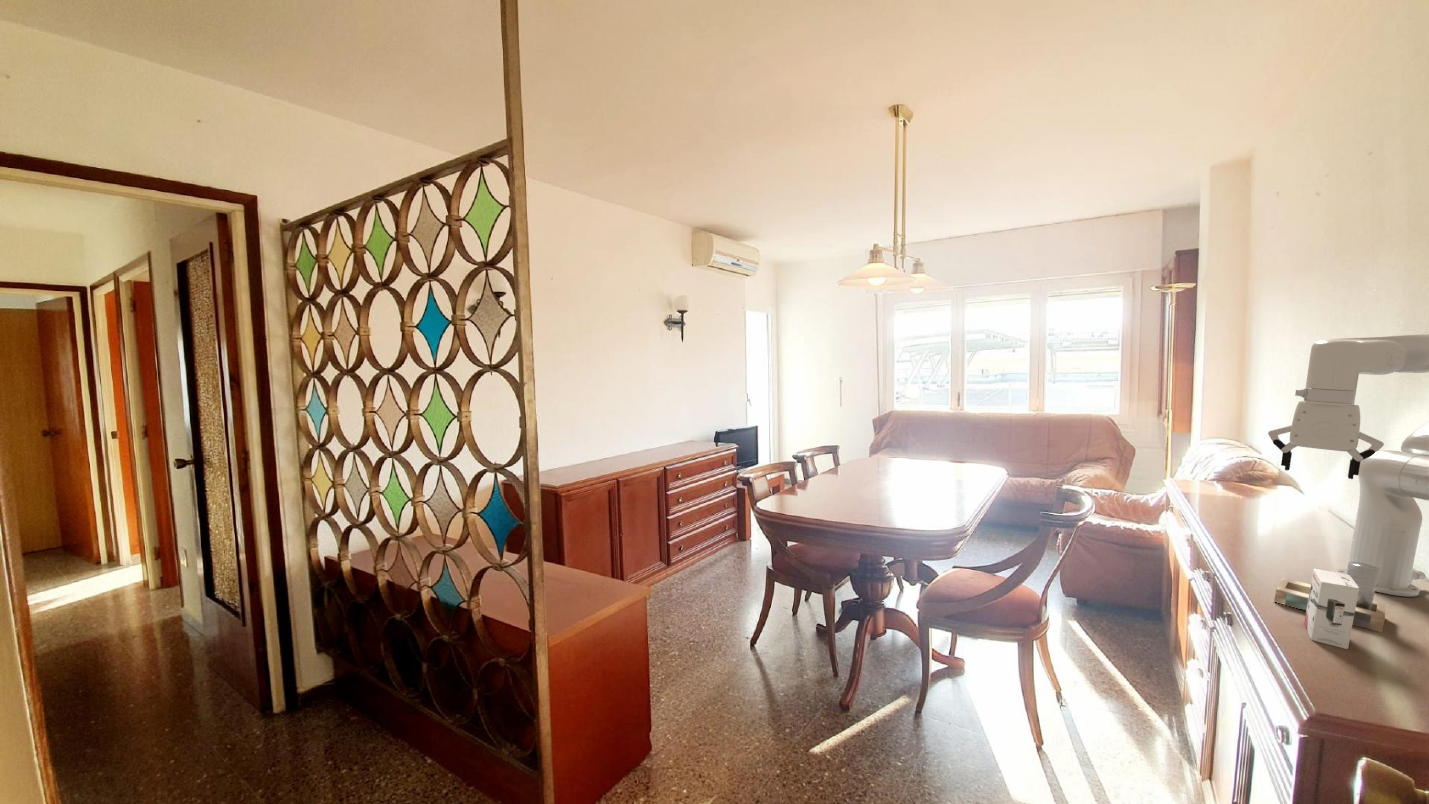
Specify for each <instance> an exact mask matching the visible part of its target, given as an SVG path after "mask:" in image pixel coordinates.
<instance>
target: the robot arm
mask: <svg viewBox="0 0 1429 804" xmlns="http://www.w3.org/2000/svg"><path fill="white" fill-rule="evenodd" d="M1308 361H1309V362H1308V367H1307V374H1306V376H1307V377H1306V380H1305V381H1306V383H1305V388H1303V389H1295V395H1294V396H1295V397H1301V398H1302V399H1303V400H1302V401H1301V400H1300V401H1298V402H1297V405H1296V407H1295V411H1294V415H1293V418H1292V421H1291V425H1287V426H1284V427H1280V428H1275V429H1272V430H1269V431H1268V433H1267V434H1268V436H1269V438H1270V439H1271V441H1272V444H1273V445H1274V446H1275V447H1277V448H1278V449H1279V450H1280V451H1281V452H1282V456H1281V462H1280V463H1281V464H1280V465H1281V466H1282V467H1284V471H1287V472H1288V471H1290V469H1291V462H1292V457H1293V456H1292V454H1293V452H1292V450H1293V449H1295V448H1297V447H1300V448H1308V449H1318V450H1325V451H1327V450H1328V451H1337V452H1347V453H1348V454H1349V455H1350V456H1351V458H1350V461H1349V466H1348V473H1347V478H1348V479H1349V480H1353V479H1354V476H1358V482H1359V500H1358V505H1357V506H1358V507H1357V513H1356V517H1355V524H1354V529H1353V533H1352V540H1351V546H1350V550H1349V556H1348V562H1347V565H1348V564H1349V562H1360V563H1365V564H1369V565H1372V566H1375V567H1377V568H1379V571H1378V576H1377V581H1376V587H1375V592H1378V593H1381V594H1384V595H1385V594H1386V595H1389V596H1391V595H1392V596H1396V597H1408V598H1410V597H1418V596H1420V591H1421V590H1420V589H1419V588H1418V587H1417V586H1416V585H1413V584H1412V583H1413V582H1412V581H1413V580H1424V579H1426V574H1425V573H1424V572H1423V571H1421V570H1413V569H1414V568H1413V567H1414V563H1415V557H1416V552H1417V548H1418V542H1419V537H1420V533H1421V527H1422V523H1423V514H1422V511H1421V509H1420V506H1419V504H1418V503H1417V502H1416V500H1415V499H1420V500H1424V501H1428V502H1429V420H1428V421H1427V422H1426V423H1424V424H1423V425H1421V426H1420V427H1419V428H1417V429H1416V430H1415V431H1413V432H1412V433H1411V434H1408V436H1407V437H1406V438H1404V440H1403V441H1402V443H1401V446H1400V450H1399V451H1398V450H1392V449H1391V450H1384V449H1383V450H1381V448H1383V447H1384V446H1385V444H1384V442H1383V441H1381V440H1380V439H1377V438H1375V437H1372V436H1371V435H1368V434H1366V433H1364V432H1361V430H1360V429H1361V407H1360V406H1359V404H1355V402H1356V395H1357V388H1358V381H1359V375H1370V376H1371V375H1373V376H1384V375H1389V374H1393V373H1404V374H1409V373H1411V374H1425V373H1427V374H1428V373H1429V333H1427V334H1425V333H1423V334H1406V335H1388V336H1375V337H1372V336H1369V337H1349V338H1348V337H1345V338H1329V339H1325V340H1322V339H1321V340H1318V341H1315V342H1314V343H1313V344H1312V345H1311V347H1310V355H1309V360H1308ZM1287 433H1289V442H1288V443H1286V444H1285V443H1284V442H1283V441H1282V440H1281V439H1280V437H1279V436H1280V435H1283V434H1287ZM1359 440H1361V441H1363V442H1366V443H1367V444H1370V446H1369V448H1367V449H1365V450H1363V451H1361V452H1359V451H1358V449H1357V448H1358V445H1359ZM1347 570H1348V566H1347V567H1346V568H1340V569H1337V570H1336V572H1337V573H1343V574H1347Z"/></svg>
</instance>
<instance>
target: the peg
mask: <svg viewBox="0 0 1429 804" xmlns="http://www.w3.org/2000/svg"><path fill="white" fill-rule="evenodd" d="M1347 567H1348V570H1347V574H1348V575H1350V576H1351V577H1352V579H1353V580H1354V581H1355V583H1356V584H1357V586H1358V587H1359V593H1358V598H1357V603H1356V607H1359V608H1363V609H1367V610H1370V611H1371V608H1372V603H1373V600H1374V598H1375V592H1376V591H1375V587H1376V581H1377V576H1378V571H1379V568H1377V567H1375V566H1372V565H1369V564H1365V563H1360V562H1349V564H1348V563H1347Z"/></svg>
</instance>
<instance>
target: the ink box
mask: <svg viewBox="0 0 1429 804" xmlns="http://www.w3.org/2000/svg"><path fill="white" fill-rule="evenodd" d="M1310 584H1311V587H1310V593H1309V599H1308V604H1307V610H1306V611H1305V615H1304V621H1303V624H1304V626H1305V629H1306V632H1307V633H1308V635H1309V638H1310V639H1311V641H1314V642H1319V643H1321V644H1326V645H1330V646H1333V647H1337V648H1341V649H1345V650H1348V649H1349V647H1350V646H1349V644H1350V640H1351V634H1352V629H1353V628H1352V627H1353V619H1354V613H1355V608H1356V603H1357V598H1358V593H1359V587H1358V586H1357V584H1356V583H1355V581H1354V580H1353V579H1352V577H1351V576H1350V575H1348V574H1343V573H1337V571H1331V570H1324V569H1320V568H1315V567H1314V568H1313V570H1312V576H1311V581H1310Z"/></svg>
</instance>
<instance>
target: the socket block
mask: <svg viewBox="0 0 1429 804" xmlns="http://www.w3.org/2000/svg"><path fill="white" fill-rule="evenodd" d="M1310 587H1311V583H1306V582H1301V581H1300V580H1299V581H1298V580H1294V579H1290V578H1287V577H1282V578H1281V579H1280V581H1279V583H1278V585H1277V587H1276V589H1275V594H1274V598H1273V599H1274V601H1273V603H1274V602H1277V603H1276V604H1278V603H1284V604H1285V605H1287V606H1286V607H1289V606H1293V607H1295V608H1294V609H1296V608H1298V609H1297V610H1299V609H1303V610H1307V604H1308V599H1309V593H1310ZM1285 605H1284V606H1285ZM1386 607H1387V603H1385V602H1382V601H1377V600H1374V599H1373V603H1372V608H1371V611H1370V610H1367V609H1363V608H1359V607H1356V608H1355V613H1354V619H1353V624H1352V626H1357V627H1361V628H1363V629H1368V630H1372V631H1375V632H1378V633H1383V630H1384V624H1385V620H1386ZM1303 610H1302V611H1303Z"/></svg>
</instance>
